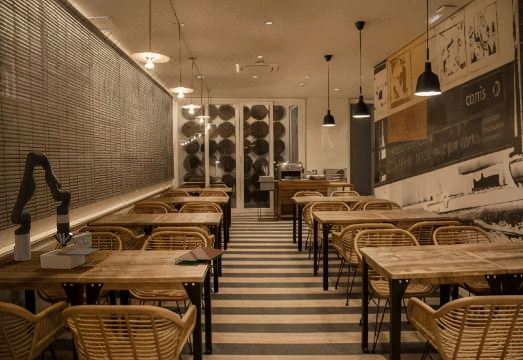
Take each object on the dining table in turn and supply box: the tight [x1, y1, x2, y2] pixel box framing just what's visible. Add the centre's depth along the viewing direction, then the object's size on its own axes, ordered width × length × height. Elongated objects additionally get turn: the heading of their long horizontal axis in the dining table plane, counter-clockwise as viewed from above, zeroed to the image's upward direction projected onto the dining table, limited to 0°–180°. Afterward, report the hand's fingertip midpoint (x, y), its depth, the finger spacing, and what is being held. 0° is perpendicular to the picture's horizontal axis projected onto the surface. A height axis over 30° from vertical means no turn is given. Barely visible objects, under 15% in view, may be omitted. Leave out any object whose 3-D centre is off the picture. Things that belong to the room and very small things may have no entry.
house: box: [173, 246, 225, 265], centre depth 301 cm, size 23×33×8 cm
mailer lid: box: [56, 244, 101, 257], centre depth 289 cm, size 20×16×4 cm
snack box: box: [67, 232, 93, 256], centre depth 315 cm, size 21×6×15 cm, turn 168°
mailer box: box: [39, 249, 86, 270], centre depth 291 cm, size 20×16×8 cm
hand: (64, 249), depth 290 cm, fingers closed
